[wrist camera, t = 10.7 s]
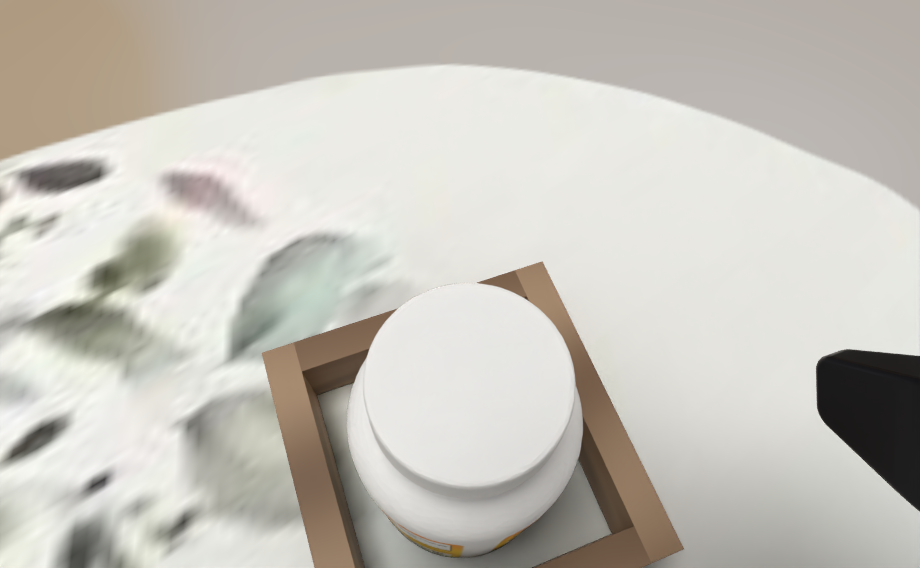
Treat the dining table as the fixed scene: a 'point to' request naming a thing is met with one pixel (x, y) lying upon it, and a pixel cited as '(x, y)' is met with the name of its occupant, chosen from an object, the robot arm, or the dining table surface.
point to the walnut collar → (601, 456)
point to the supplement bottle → (465, 418)
